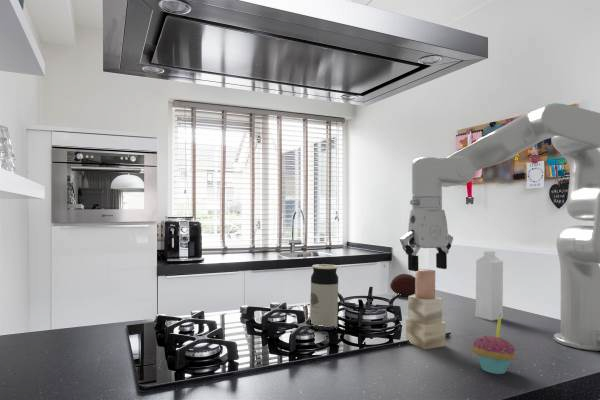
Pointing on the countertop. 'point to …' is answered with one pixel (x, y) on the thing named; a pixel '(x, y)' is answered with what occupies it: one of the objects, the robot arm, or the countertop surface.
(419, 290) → the terracotta cylinder
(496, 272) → the milk
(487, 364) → the cupcake
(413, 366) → the countertop surface
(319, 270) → the travel mug
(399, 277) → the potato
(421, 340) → the tower base
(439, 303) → the tower top
